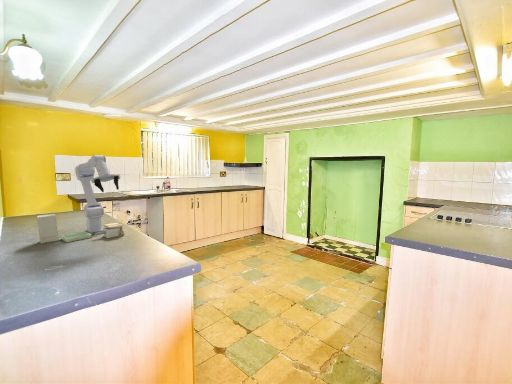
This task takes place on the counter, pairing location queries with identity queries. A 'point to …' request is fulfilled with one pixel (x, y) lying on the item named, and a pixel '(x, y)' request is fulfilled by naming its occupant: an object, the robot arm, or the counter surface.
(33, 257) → the counter surface
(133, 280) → the counter surface
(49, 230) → the skincare box
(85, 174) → the robot arm
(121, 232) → the beige block
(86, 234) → the tray
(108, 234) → the white block with post
